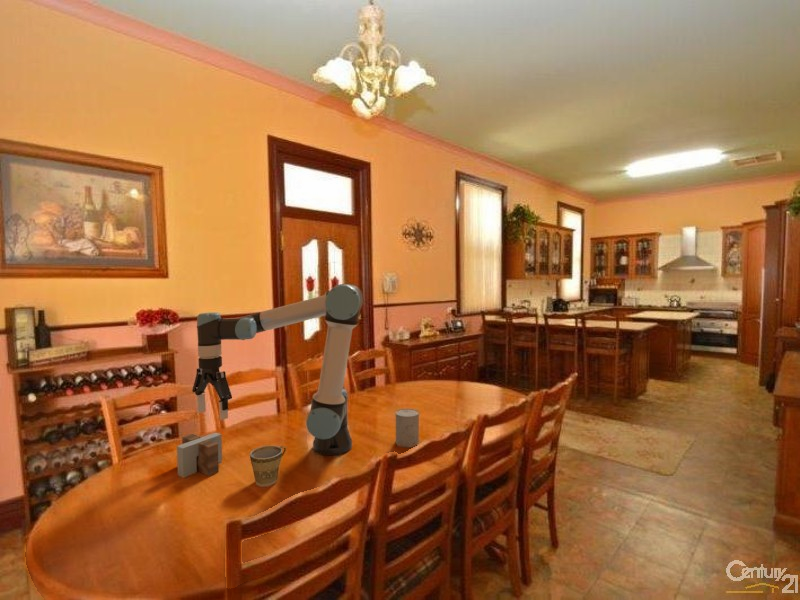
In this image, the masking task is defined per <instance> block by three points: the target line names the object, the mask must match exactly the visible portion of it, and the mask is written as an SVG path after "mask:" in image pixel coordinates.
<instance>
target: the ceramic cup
mask: <svg viewBox="0 0 800 600" xmlns="http://www.w3.org/2000/svg"><path fill="white" fill-rule="evenodd" d="M286 449H287V447H285V446H284V445H282V446H279V445H278V446H277V445H263V446H260V447H256V448H254V449H253V450H251V451H250V452H249V457H250V458H249V459H250V463H251V468H252V471H253V476H254V481H255V485H256V486H258V487H260V488H263V487H270V486H272V485H275V484H276V483H277V481H278V477H279V476H278V475H279V469H280V465H281V461H282V458H283V456H284V455H285V453H286Z"/></svg>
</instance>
